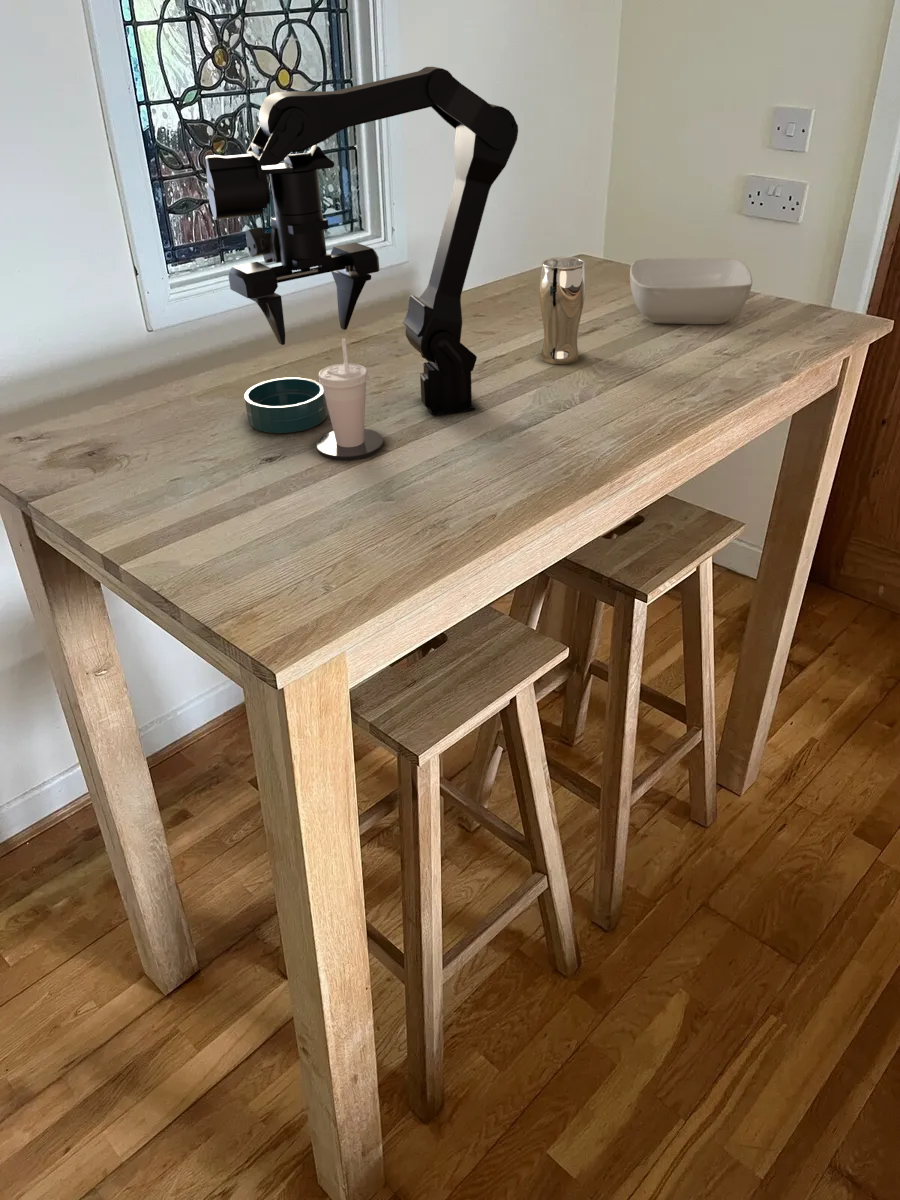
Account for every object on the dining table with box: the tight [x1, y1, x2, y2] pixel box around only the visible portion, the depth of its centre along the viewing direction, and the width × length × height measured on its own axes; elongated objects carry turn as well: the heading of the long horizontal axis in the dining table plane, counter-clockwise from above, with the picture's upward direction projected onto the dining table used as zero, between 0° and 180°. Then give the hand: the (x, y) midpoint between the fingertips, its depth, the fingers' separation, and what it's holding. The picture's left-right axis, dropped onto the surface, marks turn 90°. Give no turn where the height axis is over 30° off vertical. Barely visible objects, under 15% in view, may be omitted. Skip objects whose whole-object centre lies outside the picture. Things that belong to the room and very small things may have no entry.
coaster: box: [315, 428, 385, 461], centre depth 122 cm, size 9×9×1 cm
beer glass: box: [539, 256, 586, 365], centre depth 143 cm, size 7×7×15 cm
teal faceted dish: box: [243, 377, 329, 434], centre depth 130 cm, size 11×11×4 cm
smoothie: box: [318, 337, 369, 447], centre depth 118 cm, size 6×6×14 cm
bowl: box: [629, 257, 753, 325], centre depth 162 cm, size 20×20×8 cm
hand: (313, 336), depth 120 cm, fingers open, 9 cm apart
